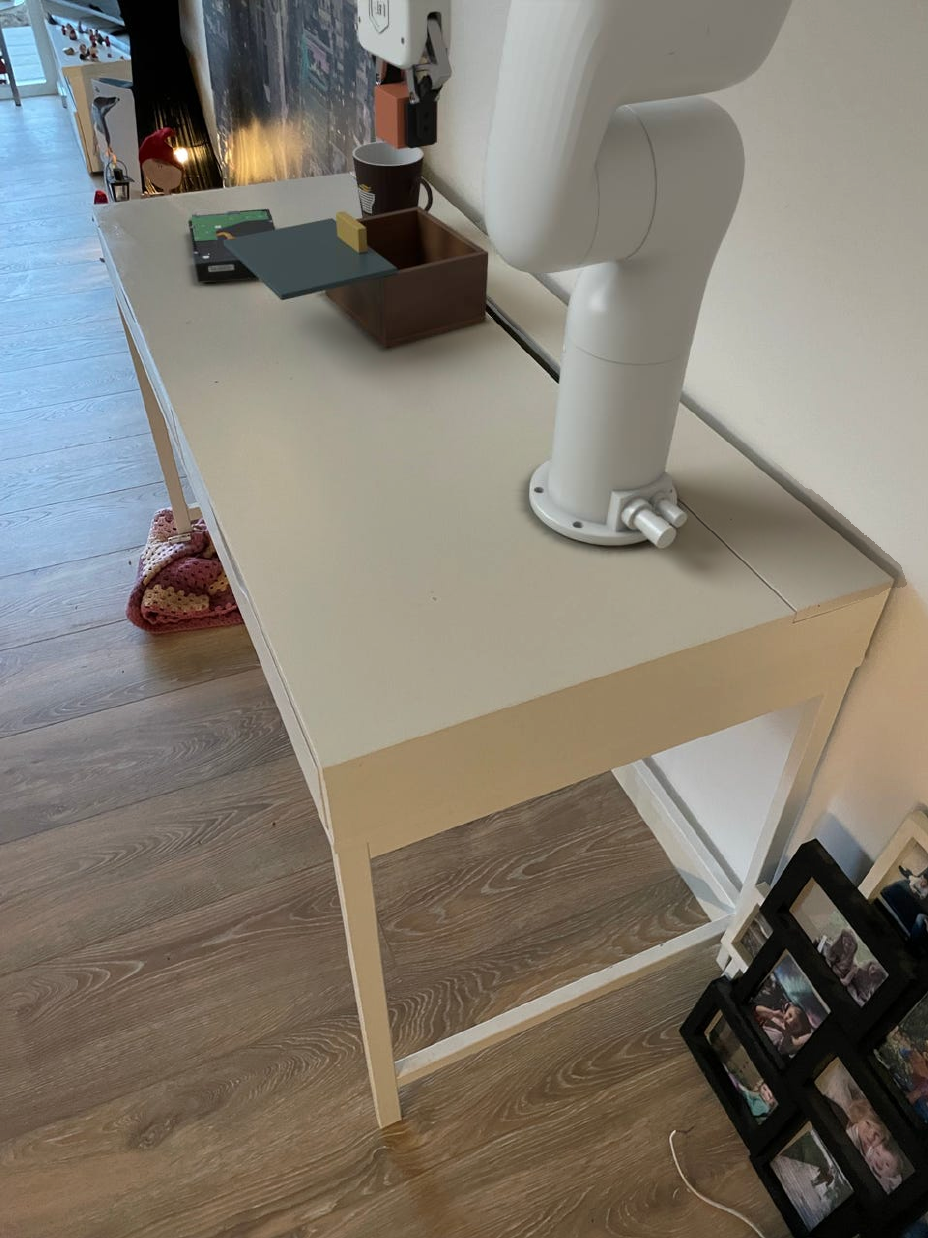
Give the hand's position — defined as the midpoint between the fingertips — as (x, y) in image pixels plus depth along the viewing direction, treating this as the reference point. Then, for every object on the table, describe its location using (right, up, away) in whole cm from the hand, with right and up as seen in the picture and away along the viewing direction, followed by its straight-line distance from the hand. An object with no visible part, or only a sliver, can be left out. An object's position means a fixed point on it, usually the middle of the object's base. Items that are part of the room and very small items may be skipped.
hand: (407, 135), depth 93 cm
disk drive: (-22, -4, +22) cm, 32 cm away
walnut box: (-1, -13, +13) cm, 18 cm away
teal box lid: (-10, -11, +3) cm, 15 cm away
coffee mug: (-3, 0, +27) cm, 27 cm away
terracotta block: (0, 0, 0) cm, 0 cm away
